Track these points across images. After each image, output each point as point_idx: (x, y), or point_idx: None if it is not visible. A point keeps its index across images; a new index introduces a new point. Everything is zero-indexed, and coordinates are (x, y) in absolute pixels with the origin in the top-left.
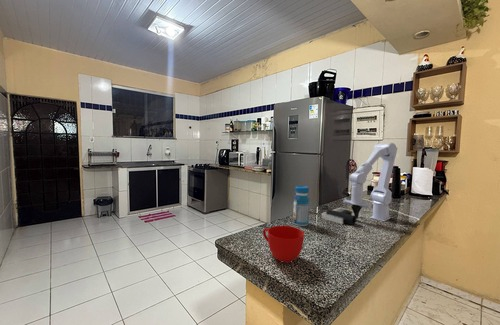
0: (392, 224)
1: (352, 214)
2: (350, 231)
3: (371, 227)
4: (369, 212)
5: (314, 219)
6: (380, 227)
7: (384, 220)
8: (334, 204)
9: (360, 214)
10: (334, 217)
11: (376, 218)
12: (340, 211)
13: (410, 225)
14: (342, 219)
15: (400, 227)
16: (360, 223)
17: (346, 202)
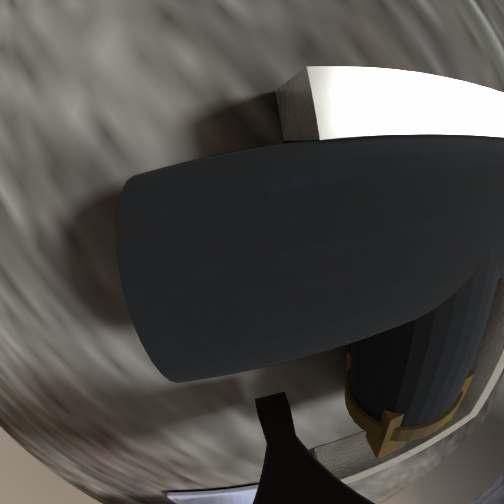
0: (112, 482)
1: None
2: (39, 6)
3: (53, 359)
4: None
5: (493, 22)
6: (55, 411)
7: (168, 497)
8: (485, 416)
9: None
10: (448, 81)
11: (217, 496)
12: None
13: (94, 498)
14: (306, 69)
15: (63, 468)
16: None
17: (499, 497)
